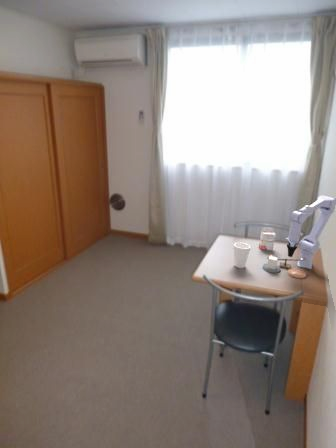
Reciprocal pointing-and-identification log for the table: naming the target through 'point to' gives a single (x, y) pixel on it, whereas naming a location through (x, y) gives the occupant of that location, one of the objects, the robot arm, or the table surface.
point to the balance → (285, 265)
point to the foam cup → (241, 254)
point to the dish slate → (271, 269)
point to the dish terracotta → (296, 273)
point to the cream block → (272, 262)
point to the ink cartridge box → (267, 239)
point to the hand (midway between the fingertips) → (290, 254)
